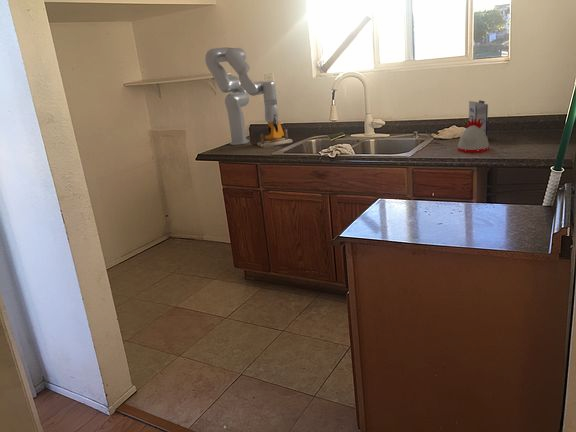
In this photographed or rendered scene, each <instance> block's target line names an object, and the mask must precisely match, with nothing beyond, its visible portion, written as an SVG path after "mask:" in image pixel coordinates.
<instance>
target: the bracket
mask: <svg viewBox="0 0 576 432" xmlns="http://www.w3.org/2000/svg"><path fill="white" fill-rule="evenodd" d="M273 122H275V120H274V121H273ZM274 124H275V123H274ZM267 126H269V127H270V128H271V133H270V134H267V135H264V140H266V141H271V140H276V139H282V138H283V137H285V133H284V130H283V127H282V124H281V123H280V120H279V119H278V131H277V132H276V130H275V127H274V126H273V124H272V123H270V122H267ZM269 127H268V128H269Z"/></svg>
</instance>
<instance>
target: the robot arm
mask: <svg viewBox="0 0 576 432" xmlns="http://www.w3.org/2000/svg"><path fill="white" fill-rule="evenodd" d="M246 54H247V53H246V52H245V50H244V49H242V48H240V47H213V48H211V49H209V50H208V51H206V53H205V57H204V58H205V65H206V67H207V69H208V71H209V72H210V74H211V75H212V77H213V79H214V81H215V83H216V85H217V86H218V88H219V90H220V92H222V93H224V94H227V93H228V94H227V95H226V96H225V98H224V105H225V108H226V110H227V112H226V113H227V117H228V125H229V130H230V131H229V132H230V139H231V141H230V142H229V145H232V146H238V145H239V146H240V145H245V144H248V143H249V142H250V140H249V139H248V138H247V133H246V126H245V118H244V112H243V111H242V107H245V106H247V105H248V104H249V103H250V102H249V101H250V98H249V96H250V97H251V96H253V97H255V96H259V95H262V96H263V103H264V119H265V122H266V123H268V122H270V123H272V124H273V126H274V127H275V130H276V132H277V131H278V120H279V112H278V106H277V105H278V102H277V101H278V99H277V92H276V82H275V81H272V80H270V81H261V80H259V81H255V82H254V81H252V79H251V78H250V77H249V75H248V72H249V71H250V68H251V67H250V65H249V64H248V63H247V61H246V59H247V55H246ZM224 62H225V63H226V62H227V63H228V64H229V65H230V67H231V68H232V69H233V70H234V72H235V73H236V74H237V75H238V76H236V75H235V76H234V75H231V76H229V74H228V73H227V71H226V69H225V68H224V67H223V65H222V64H220V63H224ZM274 120H275V122H273V121H274ZM274 123H275V124H274ZM267 126H268V125H267ZM268 132H269V133H270V134H271V128H270V127H269V126H268Z"/></svg>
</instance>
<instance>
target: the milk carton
mask: <svg viewBox="0 0 576 432" xmlns="http://www.w3.org/2000/svg"><path fill="white" fill-rule="evenodd" d="M488 110H489V104H488V103H487V104H486V101H484V100H481V99H480V100H478V101H475V100H474V101H471V100H469V101H468V121H470V122H471V120H472V118H473V121H475V119H476V120H477V123H478V120H479V119H480V124H481V123H482V122H483V124H482V126H481V129H483V131H484V132H485V134H486V136H487V137H488V114H489V113H488V112H489V111H488Z"/></svg>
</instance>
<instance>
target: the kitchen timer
mask: <svg viewBox="0 0 576 432" xmlns="http://www.w3.org/2000/svg"><path fill="white" fill-rule="evenodd" d="M467 122H468V123H464V124H465V130H463V132H462V133H461V135H460V137H459V141H458V144H457V152H458V153H459V152H460V153H463V154H480V153H481V154H482V153H485V152H488V151H489V150H490V143H489V140H488V135H487V136H486V134H485V132H484V131H483V129H481V126H482V124H483V122H482V123H481V124H480V119H479V120H478V123H477V120H476V119H475V121H473V118H472V120H471V122H470V121H469V120H468V121H467ZM487 148H488V149H487ZM484 149H485V150H484ZM465 150H466V151H465ZM477 150H479V151H477Z"/></svg>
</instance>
